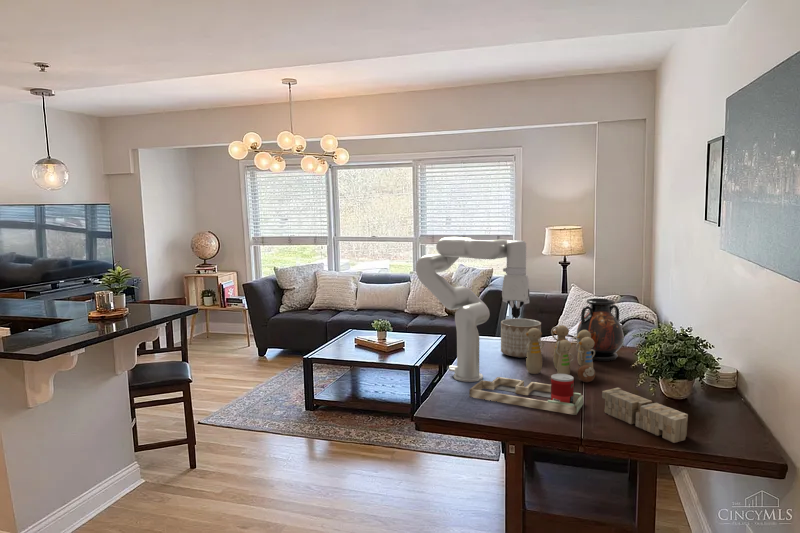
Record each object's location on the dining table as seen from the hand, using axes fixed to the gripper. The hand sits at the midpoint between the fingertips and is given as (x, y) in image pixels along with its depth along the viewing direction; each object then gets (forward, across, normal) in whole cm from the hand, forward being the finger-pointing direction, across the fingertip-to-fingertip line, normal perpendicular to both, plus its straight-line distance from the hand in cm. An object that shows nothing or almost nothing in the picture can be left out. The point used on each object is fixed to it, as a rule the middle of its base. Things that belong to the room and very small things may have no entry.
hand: (515, 317), depth 213 cm
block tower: (+30, +49, -16) cm, 59 cm away
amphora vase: (+29, +22, +63) cm, 73 cm away
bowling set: (+30, +11, +32) cm, 45 cm away
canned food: (+29, +21, -11) cm, 38 cm away
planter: (+29, -13, +50) cm, 59 cm away
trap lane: (+29, +7, -8) cm, 31 cm away
